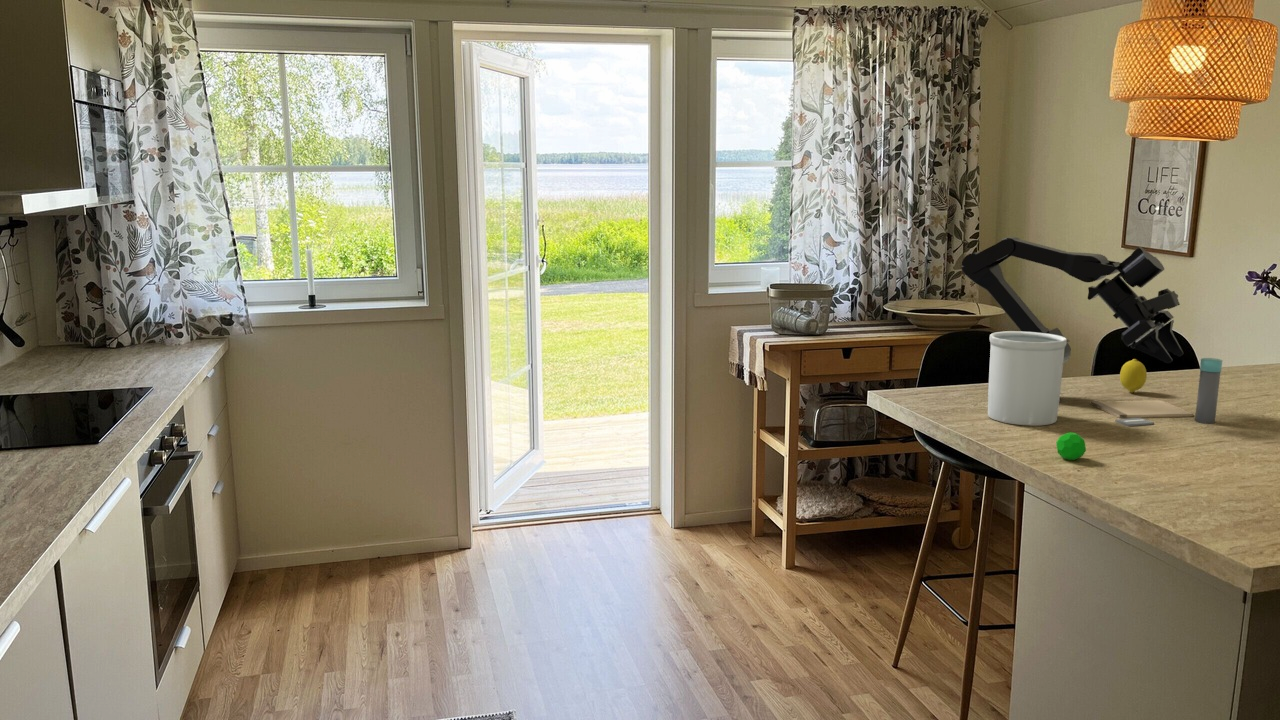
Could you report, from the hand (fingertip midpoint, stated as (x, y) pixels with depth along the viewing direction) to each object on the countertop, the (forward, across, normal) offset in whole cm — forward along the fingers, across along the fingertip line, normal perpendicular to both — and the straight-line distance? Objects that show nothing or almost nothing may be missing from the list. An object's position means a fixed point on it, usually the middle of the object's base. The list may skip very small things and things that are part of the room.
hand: (1176, 358), depth 203 cm
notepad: (+4, +2, +13) cm, 14 cm away
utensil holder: (-8, -20, +26) cm, 34 cm away
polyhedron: (+4, -44, +14) cm, 46 cm away
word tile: (+6, -10, +12) cm, 17 cm away
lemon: (0, +18, +18) cm, 25 cm away
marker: (+13, 0, +4) cm, 14 cm away
